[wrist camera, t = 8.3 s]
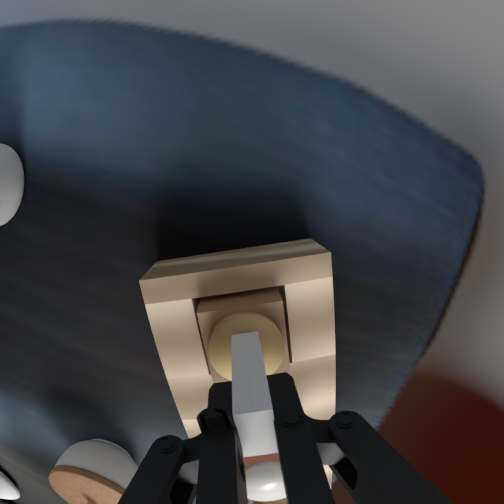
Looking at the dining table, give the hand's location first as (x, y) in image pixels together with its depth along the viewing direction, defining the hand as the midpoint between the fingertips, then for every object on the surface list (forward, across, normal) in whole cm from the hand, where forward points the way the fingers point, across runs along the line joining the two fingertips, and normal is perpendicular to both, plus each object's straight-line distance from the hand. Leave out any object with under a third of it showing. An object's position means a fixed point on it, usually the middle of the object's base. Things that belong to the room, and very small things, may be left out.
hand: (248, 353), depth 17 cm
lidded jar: (+8, +19, +18) cm, 27 cm away
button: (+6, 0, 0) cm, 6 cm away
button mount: (+8, 0, +10) cm, 13 cm away
